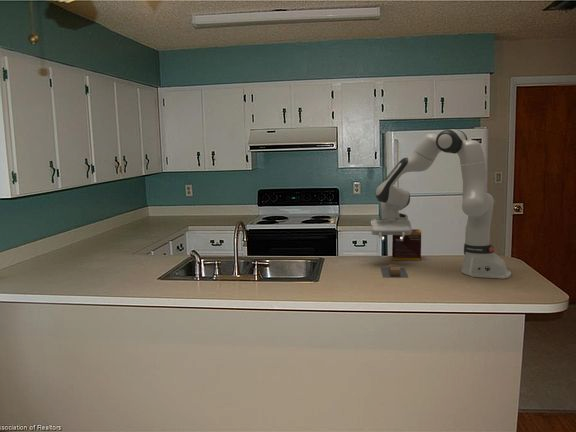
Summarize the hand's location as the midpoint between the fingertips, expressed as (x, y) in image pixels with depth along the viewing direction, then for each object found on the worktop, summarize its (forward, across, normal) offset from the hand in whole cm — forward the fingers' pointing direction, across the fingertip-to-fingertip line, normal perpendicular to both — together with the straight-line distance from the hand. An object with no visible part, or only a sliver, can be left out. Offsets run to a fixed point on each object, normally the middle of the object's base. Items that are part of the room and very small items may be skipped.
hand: (392, 240), depth 263 cm
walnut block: (+15, 0, +2) cm, 15 cm away
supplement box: (-5, +10, +26) cm, 28 cm away
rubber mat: (+18, 0, +2) cm, 18 cm away
